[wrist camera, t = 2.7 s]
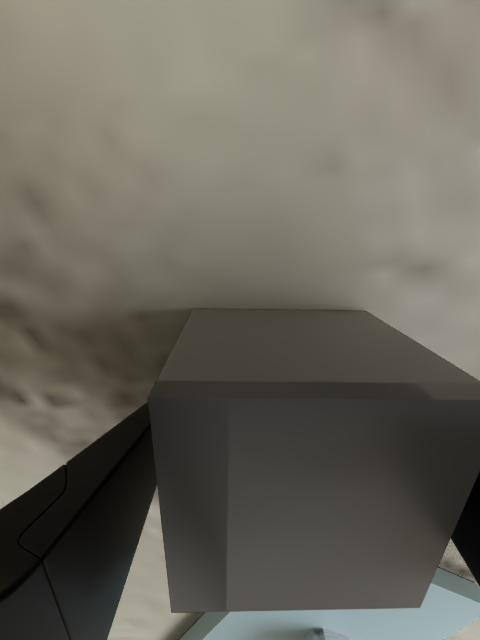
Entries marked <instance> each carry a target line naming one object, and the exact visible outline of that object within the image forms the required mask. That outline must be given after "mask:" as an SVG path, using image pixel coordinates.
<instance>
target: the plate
mask: <svg viewBox="0 0 480 640" xmlns="http://www.w3.org/2000/svg"><path fill="white" fill-rule="evenodd" d="M479 617H480V588H479V587H478V585H477V584H475V583H473V582H471V581H468V580H466V579H464V578H461V577H459V576H457V575H454V574H452V573H450V572H447V571H445V570H443V569H440V568H437V570H436V573H435V575H434V577H433V580H432V582H431V584H430V586H429V589H428V591H427V593H426V596H425V598H424V600H423V602H422V605H421V607H420V608H396V609H344V610H293V611H241V612H205V613H204V614H203V615H202V616H201V617H200V619H199V620H198V621H197V622H196V623H195V624H194V625H193V626H192V627H191V628H190V629H189V630H188V631H187V632H186V633H185V634H184V635H183V636H182V637H181V638H180V639H179V640H300V639H301V638H303V637H304V636H305V635H306V634H307V633H309V632H310V631H311V630H315V631H319V630H321V629H322V628H325V629H328V630H331V631H334V632H337V633H340V634H343V635H346V636H349V638H350V640H446V639H447V638H449V637H450V636H452V635H453V634H455V633H456V632H458V631H460V630H461V629H463V628H464V627H466V626H467V625H469V624H470V623H472V622H473V621H475V620H476V619H478V618H479Z"/></svg>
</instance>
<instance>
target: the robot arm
mask: <svg viewBox="0 0 480 640" xmlns="http://www.w3.org/2000/svg"><path fill="white" fill-rule="evenodd" d="M156 486H157V477H156V468H155V459H154V450H153V441H152V431H151V422H150V413H149V404H148V402H147V403H145V404H144V405H143V406H141V407H140V408H139V409H137V410H136V411H135V412H133V413H132V414H131V415H129V416H128V417H127V418H125V419H124V420H123V421H121V422H120V423H119V424H117V425H116V426H115V427H113V428H112V429H111V430H109V431H108V432H107V433H105V434H104V435H103V436H101V437H100V438H99V439H97V440H96V441H95V442H93V443H92V444H91V445H89V446H88V447H87V448H85V449H84V450H83V451H81V452H80V453H79V454H77V455H76V456H75V457H73V458H72V459H71V460H69V461H68V462H67V463H66V465H62V466H61V467H60V468H58V469H57V470H56V471H54V472H53V473H52V474H50V475H49V476H48V477H46V478H45V479H43V480H42V481H41V482H39V483H38V484H36V485H35V486H34V487H32V488H31V489H30V490H28V491H27V492H25V493H24V494H22V495H21V496H19V497H18V498H16V499H15V500H13V501H12V502H10V503H9V504H7V505H6V506H5V507H3V508H2V509H0V640H107V638H108V635H109V632H110V629H111V626H112V622H113V619H114V616H115V613H116V610H117V607H118V604H119V601H120V598H121V595H122V592H123V588H124V585H125V582H126V579H127V576H128V573H129V570H130V567H131V564H132V561H133V557H134V554H135V551H136V548H137V545H138V542H139V539H140V536H141V533H142V530H143V527H144V523H145V520H146V517H147V514H148V511H149V508H150V505H151V502H152V499H153V496H154V493H155V489H156ZM451 539H452V541H453V543H454V544H455V546H456V548H457V549H458V551H459V553H460V554H461V556H462V558H463V559H464V561H465V563H466V564H467V566H468V568H469V569H470V571H471V573H472V574H473V576H474V578H475V579H476V581H477V583H478V584H479V586H480V472H479V474H478V476H477V478H476V481H475V483H474V485H473V488H472V490H471V492H470V495H469V497H468V499H467V501H466V504H465V506H464V508H463V511H462V513H461V515H460V517H459V520H458V522H457V524H456V527H455V529H454V531H453V534H452V536H451Z"/></svg>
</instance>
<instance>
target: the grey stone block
mask: <svg viewBox="0 0 480 640" xmlns="http://www.w3.org/2000/svg"><path fill="white" fill-rule="evenodd" d="M300 640H350V638H349V636H346V635H343V634H340V633H337V632H334V631H331V630H328V629H325V628H322V629H321V630H319V631H315V630H311V631H310V632H309V633H307V634H306V635H305V636H304V637H303V638H301V639H300Z"/></svg>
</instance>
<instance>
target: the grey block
mask: <svg viewBox="0 0 480 640" xmlns="http://www.w3.org/2000/svg"><path fill="white" fill-rule="evenodd" d="M148 404H149V413H150V422H151V431H152V441H153V450H154V459H155V468H156V477H157V486H158V495H159V504H160V514H161V523H162V532H163V541H164V550H165V559H166V568H167V577H168V587H169V596H170V605H171V613H189V612H241V611H293V610H344V609H396V608H420V607H421V605H422V602H423V600H424V598H425V596H426V593H427V591H428V589H429V586H430V584H431V582H432V580H433V577H434V575H435V573H436V570H437V568H438V566H439V563H440V561H441V559H442V557H443V554H444V552H445V550H446V547H447V545H448V543H449V540H450V538H451V536H452V534H453V531H454V529H455V527H456V524H457V522H458V520H459V517H460V515H461V513H462V511H463V508H464V506H465V504H466V501H467V499H468V497H469V495H470V492H471V490H472V488H473V485H474V483H475V481H476V478H477V476H478V474H479V472H480V381H479V380H477V379H476V378H474V377H472V376H471V375H469V374H468V373H466V372H464V371H463V370H461V369H459V368H458V367H456V366H455V365H453V364H451V363H450V362H448V361H446V360H445V359H443V358H442V357H440V356H438V355H437V354H435V353H433V352H432V351H430V350H429V349H427V348H425V347H424V346H422V345H420V344H419V343H417V342H416V341H414V340H412V339H411V338H409V337H407V336H406V335H404V334H403V333H401V332H399V331H398V330H396V329H394V328H393V327H391V326H390V325H388V324H386V323H385V322H383V321H381V320H380V319H378V318H377V317H375V316H373V315H372V314H370V313H368V312H367V311H328V310H266V309H205V308H193V310H192V312H191V314H190V316H189V318H188V320H187V322H186V324H185V326H184V328H183V330H182V332H181V334H180V336H179V338H178V340H177V342H176V343H175V345H174V347H173V349H172V351H171V353H170V355H169V357H168V359H167V361H166V363H165V365H164V367H163V369H162V371H161V373H160V375H159V377H158V379H157V381H156V383H155V385H154V387H153V389H152V391H151V393H150V395H149V397H148Z"/></svg>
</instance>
